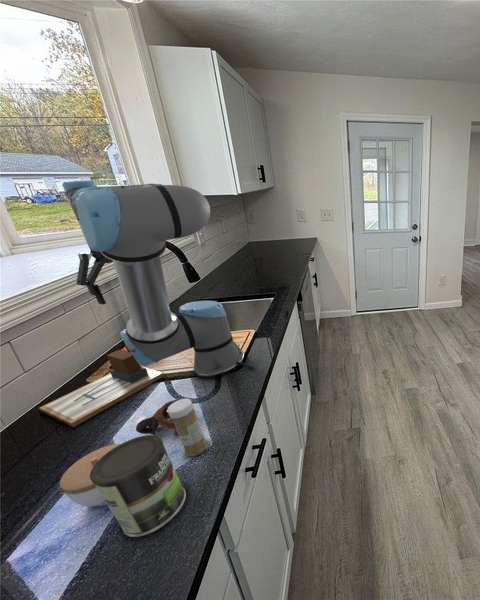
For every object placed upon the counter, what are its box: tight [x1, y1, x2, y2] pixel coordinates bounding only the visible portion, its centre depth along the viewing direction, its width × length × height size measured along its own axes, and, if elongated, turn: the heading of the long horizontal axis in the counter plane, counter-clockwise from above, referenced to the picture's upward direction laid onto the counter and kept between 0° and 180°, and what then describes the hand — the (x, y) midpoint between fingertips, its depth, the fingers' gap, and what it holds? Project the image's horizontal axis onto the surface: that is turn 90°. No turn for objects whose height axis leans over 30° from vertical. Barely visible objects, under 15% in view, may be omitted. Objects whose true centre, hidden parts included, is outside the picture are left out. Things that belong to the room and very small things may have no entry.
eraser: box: [106, 349, 148, 383], centre depth 101 cm, size 11×5×8 cm, turn 67°
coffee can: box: [90, 434, 187, 538], centre depth 59 cm, size 10×10×14 cm
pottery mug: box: [135, 398, 196, 437], centre depth 80 cm, size 12×10×8 cm
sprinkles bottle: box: [167, 398, 208, 457], centre depth 72 cm, size 5×5×13 cm
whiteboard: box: [38, 365, 165, 428], centre depth 97 cm, size 18×24×2 cm
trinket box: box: [59, 443, 121, 508], centre depth 64 cm, size 11×11×9 cm
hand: (126, 296), depth 106 cm, fingers open, 13 cm apart
